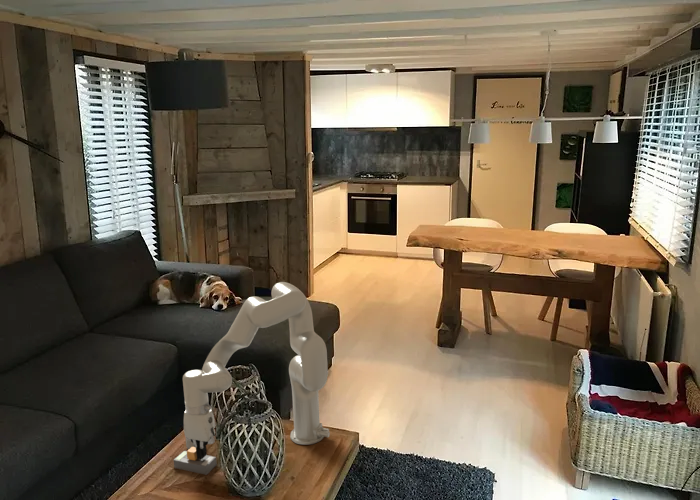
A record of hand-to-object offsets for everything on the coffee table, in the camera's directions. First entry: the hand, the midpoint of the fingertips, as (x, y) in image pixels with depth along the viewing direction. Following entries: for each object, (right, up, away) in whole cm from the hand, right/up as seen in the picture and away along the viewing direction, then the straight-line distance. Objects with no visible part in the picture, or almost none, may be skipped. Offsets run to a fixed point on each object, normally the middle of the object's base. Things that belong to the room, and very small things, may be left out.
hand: (201, 456), depth 193 cm
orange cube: (-3, -1, +2) cm, 4 cm away
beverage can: (-6, -2, +14) cm, 16 cm away
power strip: (-3, -4, +2) cm, 5 cm away
